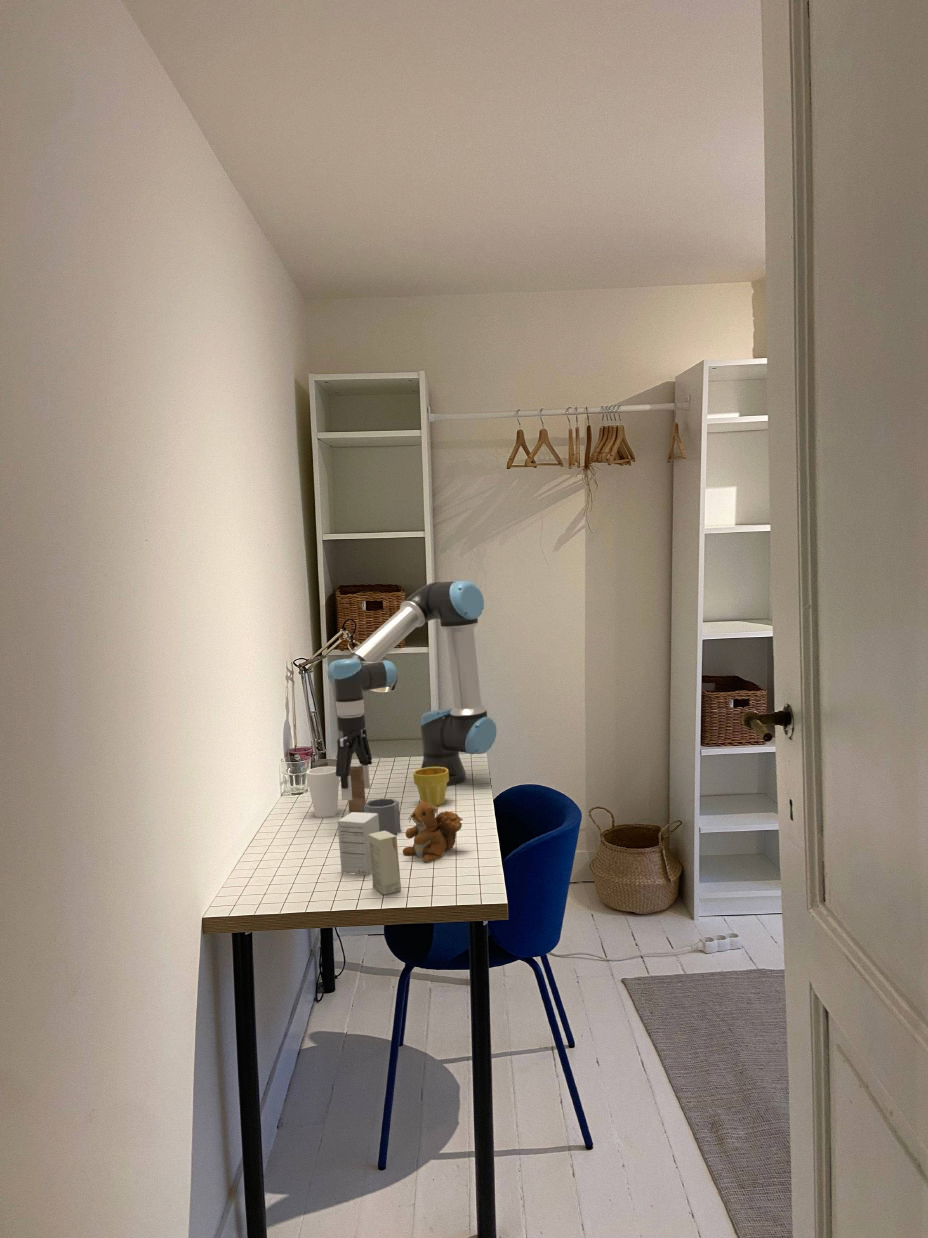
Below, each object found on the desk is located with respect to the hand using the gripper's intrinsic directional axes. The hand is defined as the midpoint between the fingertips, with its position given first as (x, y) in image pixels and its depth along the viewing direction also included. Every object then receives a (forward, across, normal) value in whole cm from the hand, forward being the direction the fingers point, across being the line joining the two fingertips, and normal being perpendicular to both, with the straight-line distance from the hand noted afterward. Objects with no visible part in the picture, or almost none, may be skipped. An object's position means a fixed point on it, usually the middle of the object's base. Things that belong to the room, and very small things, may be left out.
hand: (356, 793), depth 243 cm
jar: (+9, +6, +10) cm, 14 cm away
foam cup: (+9, -8, -14) cm, 18 cm away
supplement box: (+9, +33, +16) cm, 38 cm away
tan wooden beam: (+9, 0, 0) cm, 9 cm away
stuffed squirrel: (+9, +20, +30) cm, 37 cm away
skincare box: (+9, +44, +27) cm, 52 cm away
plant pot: (+9, -22, +14) cm, 28 cm away
